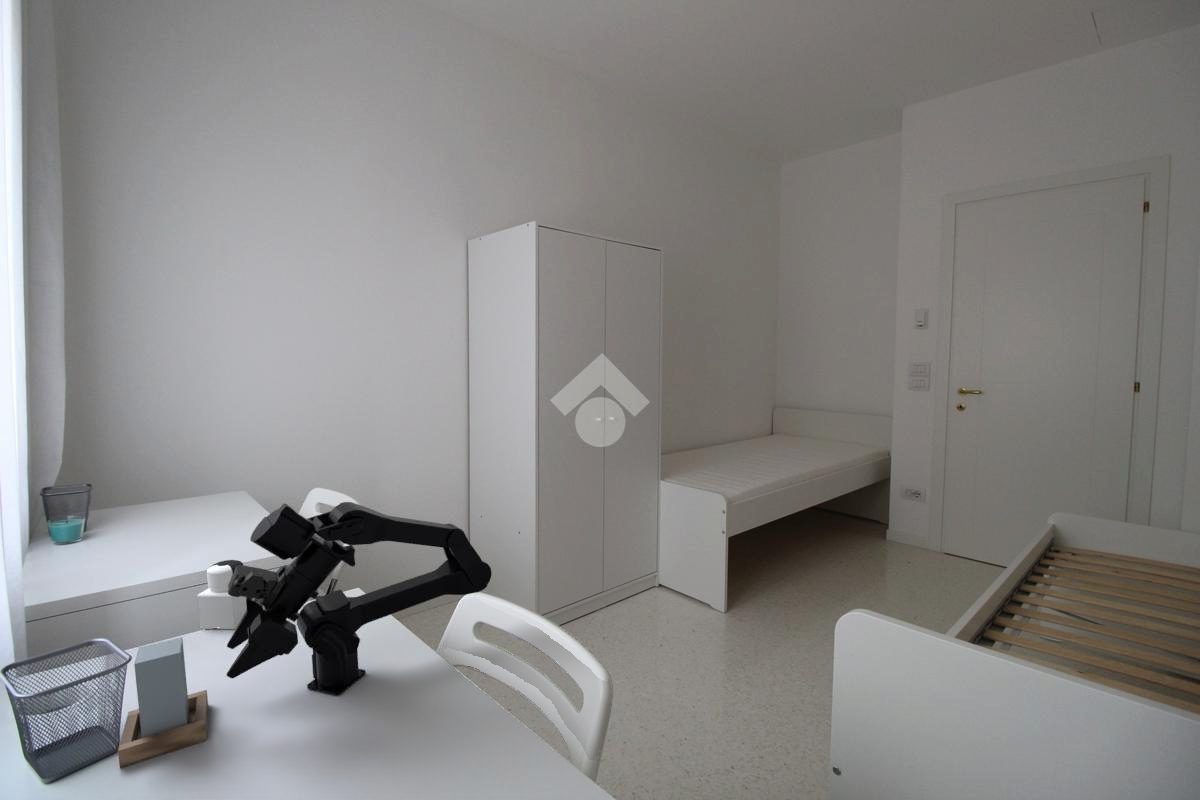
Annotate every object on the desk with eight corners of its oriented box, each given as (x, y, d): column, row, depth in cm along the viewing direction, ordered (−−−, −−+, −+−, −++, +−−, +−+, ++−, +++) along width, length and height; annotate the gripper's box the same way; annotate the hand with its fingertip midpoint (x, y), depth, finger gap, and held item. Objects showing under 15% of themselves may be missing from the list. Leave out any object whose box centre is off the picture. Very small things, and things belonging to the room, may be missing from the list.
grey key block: (189, 716, 85) (182, 636, 83) (187, 735, 81) (180, 652, 79) (147, 728, 82) (138, 647, 81) (143, 749, 78) (134, 663, 76)
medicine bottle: (224, 612, 118) (219, 556, 116) (258, 612, 118) (253, 556, 116) (199, 629, 111) (194, 570, 109) (234, 630, 110) (230, 571, 109)
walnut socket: (208, 704, 88) (206, 689, 88) (206, 740, 80) (204, 723, 80) (130, 727, 83) (128, 711, 82) (119, 768, 75) (117, 750, 75)
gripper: (259, 529, 94) (183, 610, 89) (265, 567, 78) (172, 668, 73) (315, 564, 99) (246, 643, 94) (331, 606, 83) (249, 703, 78)
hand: (229, 661), depth 85 cm, fingers open, 9 cm apart
